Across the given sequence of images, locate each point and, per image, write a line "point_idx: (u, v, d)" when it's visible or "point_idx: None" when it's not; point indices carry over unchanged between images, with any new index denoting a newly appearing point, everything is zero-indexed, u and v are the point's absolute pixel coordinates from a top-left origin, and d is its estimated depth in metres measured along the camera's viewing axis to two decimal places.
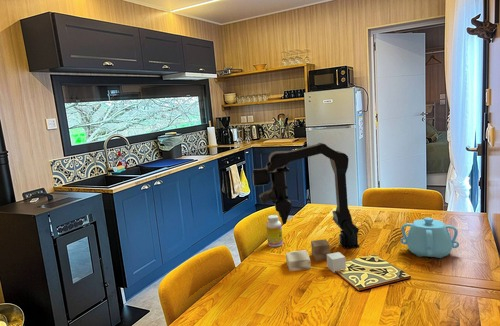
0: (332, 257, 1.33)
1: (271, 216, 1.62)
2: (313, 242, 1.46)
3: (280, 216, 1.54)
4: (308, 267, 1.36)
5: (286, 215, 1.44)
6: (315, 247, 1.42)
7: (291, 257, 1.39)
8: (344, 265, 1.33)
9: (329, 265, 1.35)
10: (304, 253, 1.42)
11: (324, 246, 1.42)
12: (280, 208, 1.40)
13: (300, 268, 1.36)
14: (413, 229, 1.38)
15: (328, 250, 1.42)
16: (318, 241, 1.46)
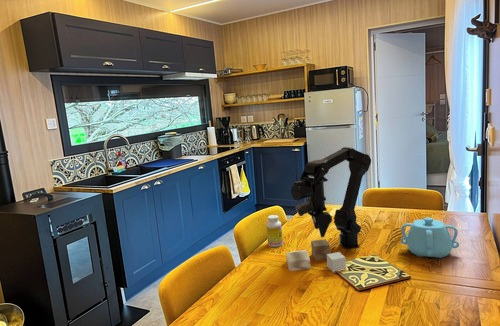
0: (332, 257, 1.33)
1: (271, 216, 1.62)
2: (313, 242, 1.46)
3: (316, 228, 1.48)
4: (308, 267, 1.36)
5: (325, 228, 1.38)
6: (315, 247, 1.42)
7: (291, 257, 1.39)
8: (344, 265, 1.33)
9: (329, 265, 1.35)
10: (304, 253, 1.42)
11: (324, 246, 1.42)
12: (320, 221, 1.34)
13: (300, 268, 1.36)
14: (413, 229, 1.38)
15: (328, 250, 1.42)
16: (318, 241, 1.46)
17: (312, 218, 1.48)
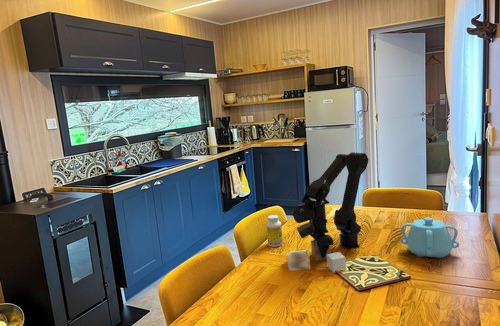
0: (332, 257, 1.33)
1: (271, 216, 1.62)
2: (313, 242, 1.46)
3: None
4: (307, 267, 1.36)
5: (325, 249, 1.41)
6: (315, 247, 1.42)
7: (290, 257, 1.39)
8: (344, 265, 1.33)
9: (329, 265, 1.35)
10: (304, 253, 1.42)
11: None
12: (322, 244, 1.35)
13: (299, 268, 1.36)
14: (413, 229, 1.38)
15: (328, 250, 1.42)
16: None
17: None
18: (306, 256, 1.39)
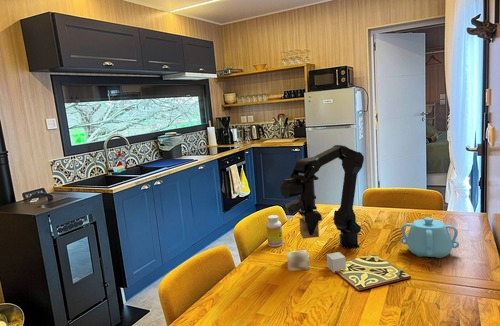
0: (332, 257, 1.33)
1: (271, 216, 1.62)
2: (301, 219, 1.42)
3: None
4: (307, 268, 1.36)
5: (314, 226, 1.37)
6: (303, 224, 1.38)
7: (290, 257, 1.39)
8: (344, 265, 1.33)
9: (329, 265, 1.35)
10: (304, 253, 1.41)
11: None
12: (309, 220, 1.31)
13: (299, 268, 1.36)
14: (413, 229, 1.38)
15: (316, 227, 1.38)
16: None
17: None
18: (306, 256, 1.39)
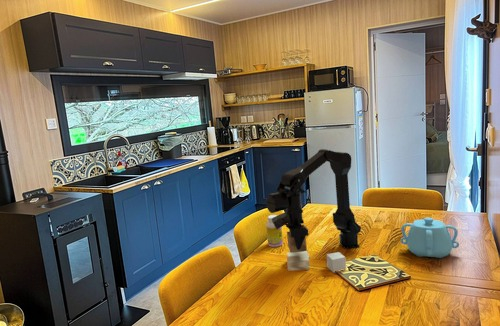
0: (332, 257, 1.33)
1: (271, 216, 1.62)
2: None
3: None
4: (306, 268, 1.36)
5: (301, 240, 1.34)
6: (290, 238, 1.35)
7: (290, 257, 1.39)
8: (344, 265, 1.33)
9: (329, 265, 1.35)
10: (305, 253, 1.41)
11: None
12: (296, 235, 1.29)
13: (298, 268, 1.36)
14: (413, 229, 1.38)
15: (304, 241, 1.36)
16: None
17: None
18: (306, 256, 1.38)
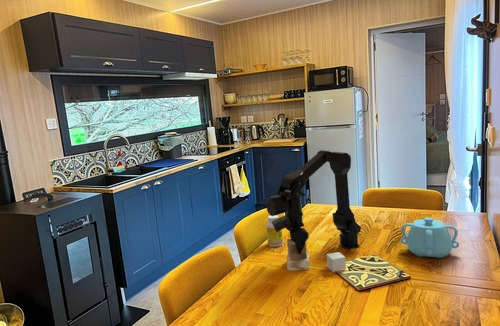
0: (332, 257, 1.33)
1: (271, 216, 1.62)
2: (289, 241, 1.40)
3: None
4: (306, 268, 1.36)
5: (302, 245, 1.33)
6: (290, 246, 1.36)
7: None
8: (344, 265, 1.33)
9: (329, 265, 1.35)
10: None
11: None
12: (296, 238, 1.29)
13: (298, 268, 1.36)
14: (413, 229, 1.38)
15: (304, 249, 1.36)
16: None
17: None
18: None
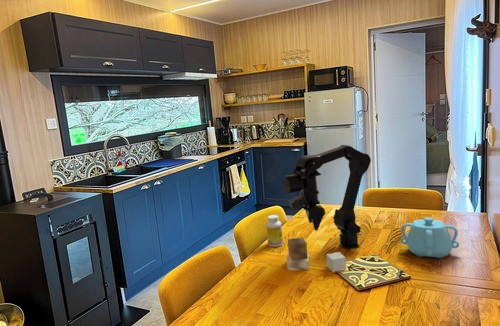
0: (332, 257, 1.33)
1: (271, 216, 1.62)
2: (290, 240, 1.40)
3: (310, 222, 1.50)
4: (306, 268, 1.36)
5: (318, 221, 1.39)
6: (291, 246, 1.36)
7: None
8: (344, 265, 1.33)
9: (329, 265, 1.35)
10: None
11: (301, 244, 1.36)
12: (313, 214, 1.35)
13: (298, 268, 1.36)
14: (413, 229, 1.38)
15: (305, 249, 1.36)
16: (295, 239, 1.40)
17: (306, 212, 1.50)
18: None
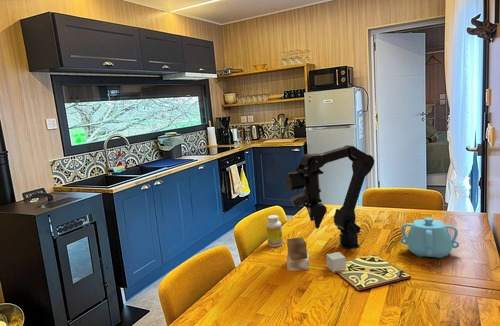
0: (332, 257, 1.33)
1: (271, 216, 1.62)
2: (289, 240, 1.40)
3: (311, 220, 1.51)
4: (306, 268, 1.36)
5: (320, 219, 1.40)
6: (291, 245, 1.36)
7: None
8: (344, 265, 1.33)
9: (329, 265, 1.35)
10: None
11: (300, 244, 1.36)
12: (315, 212, 1.36)
13: (298, 268, 1.36)
14: (413, 229, 1.38)
15: (304, 248, 1.37)
16: (294, 239, 1.40)
17: None
18: None
